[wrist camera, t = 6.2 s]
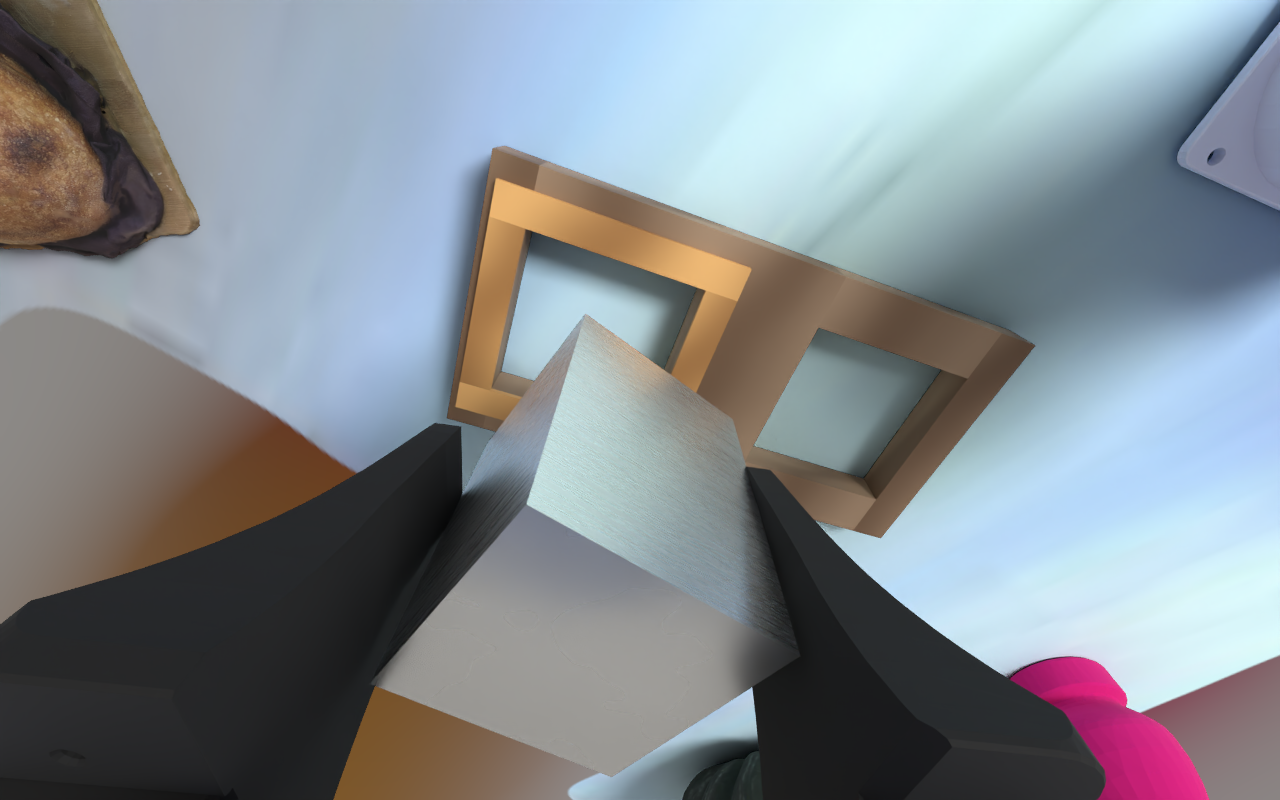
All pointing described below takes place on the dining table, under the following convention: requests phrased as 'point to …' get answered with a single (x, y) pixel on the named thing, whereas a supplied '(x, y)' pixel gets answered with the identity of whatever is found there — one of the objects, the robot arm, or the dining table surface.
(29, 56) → the bread roll
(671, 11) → the dining table surface
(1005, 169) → the dining table surface
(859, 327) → the wooden board with holes
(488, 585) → the light grey block
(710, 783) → the squash
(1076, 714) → the pepper mill
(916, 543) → the dining table surface
